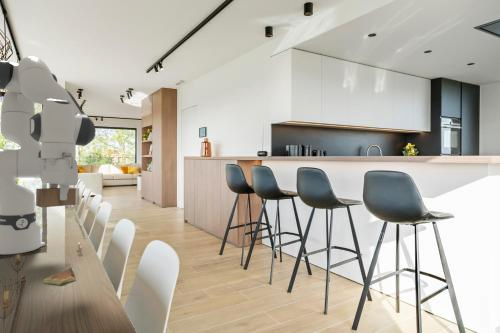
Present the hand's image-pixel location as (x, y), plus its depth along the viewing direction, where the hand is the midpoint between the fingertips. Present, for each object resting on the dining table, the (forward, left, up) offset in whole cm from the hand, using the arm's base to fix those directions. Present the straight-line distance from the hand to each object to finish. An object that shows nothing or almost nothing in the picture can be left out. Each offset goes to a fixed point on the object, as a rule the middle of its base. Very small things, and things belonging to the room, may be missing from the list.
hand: (58, 199), depth 97 cm
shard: (0, 0, -25) cm, 25 cm away
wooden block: (0, -5, +1) cm, 5 cm away
